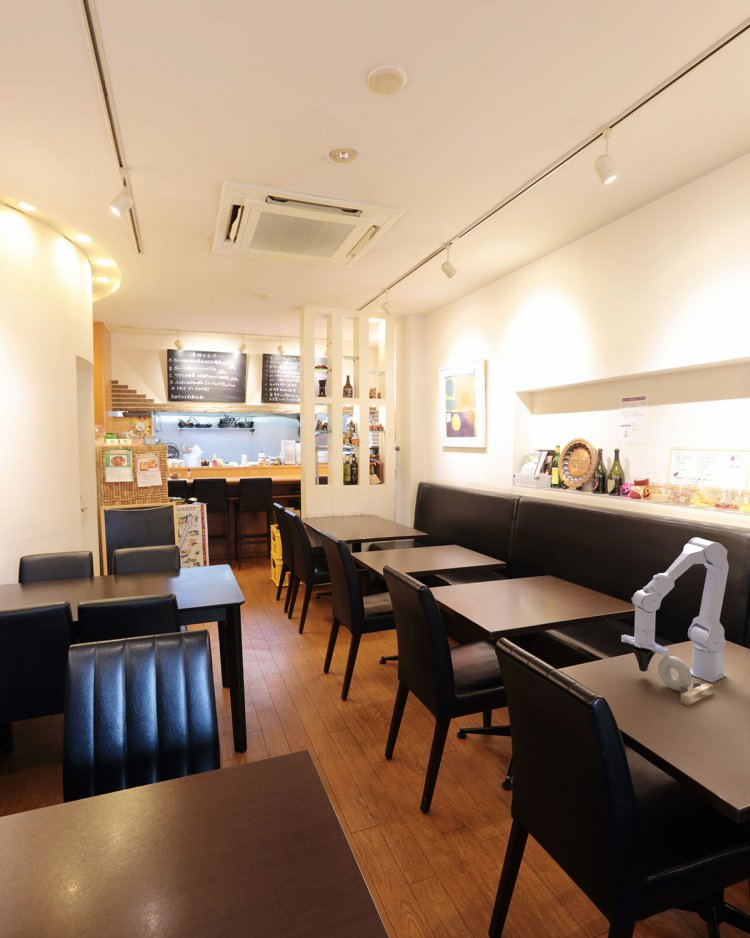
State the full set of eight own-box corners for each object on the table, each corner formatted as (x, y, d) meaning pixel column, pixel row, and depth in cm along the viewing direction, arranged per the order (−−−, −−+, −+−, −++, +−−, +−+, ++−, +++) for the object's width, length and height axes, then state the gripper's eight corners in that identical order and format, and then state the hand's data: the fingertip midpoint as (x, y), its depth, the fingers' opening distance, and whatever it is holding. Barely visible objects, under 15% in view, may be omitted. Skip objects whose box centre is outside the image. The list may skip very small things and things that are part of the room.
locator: (699, 688, 159) (699, 678, 159) (712, 693, 156) (713, 683, 156) (674, 700, 152) (674, 690, 151) (687, 705, 148) (688, 695, 148)
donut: (693, 695, 155) (695, 662, 154) (686, 697, 153) (687, 664, 153) (662, 681, 164) (663, 650, 163) (655, 683, 162) (656, 652, 162)
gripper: (616, 624, 170) (615, 664, 171) (660, 638, 158) (658, 682, 158) (628, 620, 174) (627, 660, 174) (673, 634, 162) (671, 676, 162)
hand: (643, 670), depth 167 cm, fingers closed
